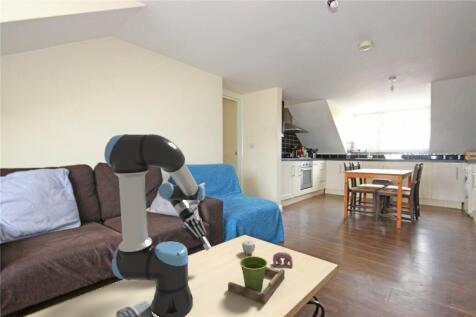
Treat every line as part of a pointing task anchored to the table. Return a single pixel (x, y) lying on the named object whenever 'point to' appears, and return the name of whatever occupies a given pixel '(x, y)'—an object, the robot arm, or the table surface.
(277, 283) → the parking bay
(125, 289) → the table surface
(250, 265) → the plant pot
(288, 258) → the video game controller
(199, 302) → the table surface
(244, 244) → the apple
